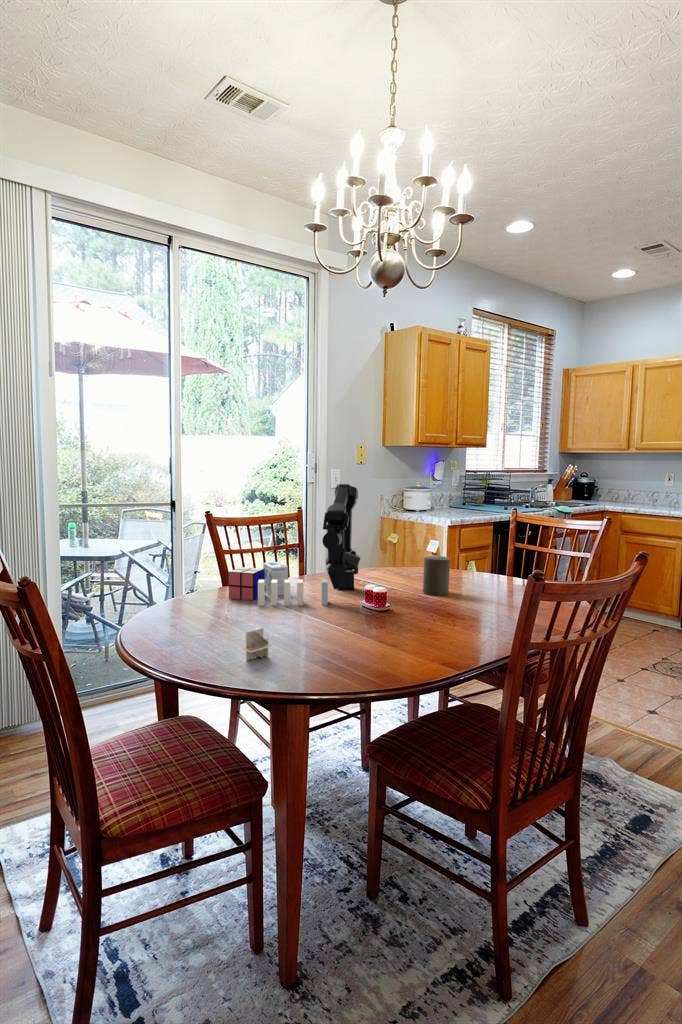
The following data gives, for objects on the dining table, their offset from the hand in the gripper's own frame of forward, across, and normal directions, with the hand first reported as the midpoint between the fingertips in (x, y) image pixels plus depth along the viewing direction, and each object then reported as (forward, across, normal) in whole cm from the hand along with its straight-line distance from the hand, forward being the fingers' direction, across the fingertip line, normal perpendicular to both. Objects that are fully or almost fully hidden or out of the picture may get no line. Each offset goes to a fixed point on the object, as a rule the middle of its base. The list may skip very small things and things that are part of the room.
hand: (335, 589), depth 205 cm
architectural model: (+5, -56, +23) cm, 61 cm away
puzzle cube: (+5, +10, +32) cm, 34 cm away
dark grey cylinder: (+5, +15, -39) cm, 42 cm away
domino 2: (+5, 0, +21) cm, 22 cm away
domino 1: (+5, 0, +26) cm, 26 cm away
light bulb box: (+5, +17, +22) cm, 28 cm away
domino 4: (+5, 0, +12) cm, 13 cm away
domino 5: (+5, 0, +4) cm, 6 cm away
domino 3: (+5, 0, +17) cm, 18 cm away
